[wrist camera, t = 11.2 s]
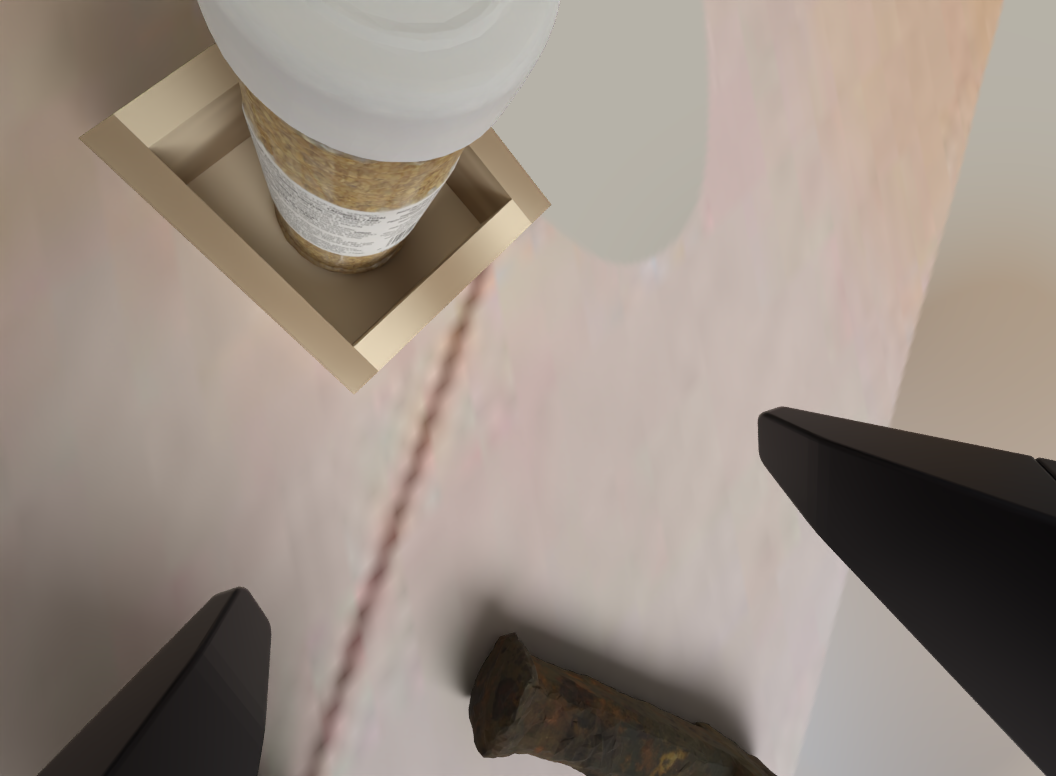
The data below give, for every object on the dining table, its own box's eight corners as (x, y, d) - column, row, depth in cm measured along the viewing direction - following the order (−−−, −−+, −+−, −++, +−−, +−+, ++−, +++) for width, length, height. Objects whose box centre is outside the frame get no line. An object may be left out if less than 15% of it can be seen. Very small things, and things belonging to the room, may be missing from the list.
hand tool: (450, 702, 22) (483, 786, 18) (499, 618, 23) (542, 680, 19) (727, 809, 29) (798, 889, 25) (759, 742, 30) (834, 808, 25)
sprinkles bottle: (349, 120, 18) (410, -411, 6) (435, 228, 19) (639, -8, 7) (240, 195, 17) (12, -260, 4) (338, 304, 18) (374, 188, 6)
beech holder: (346, 386, 20) (353, 394, 15) (137, 191, 17) (78, 137, 13) (506, 233, 22) (551, 204, 17) (344, 37, 19) (352, -53, 15)
